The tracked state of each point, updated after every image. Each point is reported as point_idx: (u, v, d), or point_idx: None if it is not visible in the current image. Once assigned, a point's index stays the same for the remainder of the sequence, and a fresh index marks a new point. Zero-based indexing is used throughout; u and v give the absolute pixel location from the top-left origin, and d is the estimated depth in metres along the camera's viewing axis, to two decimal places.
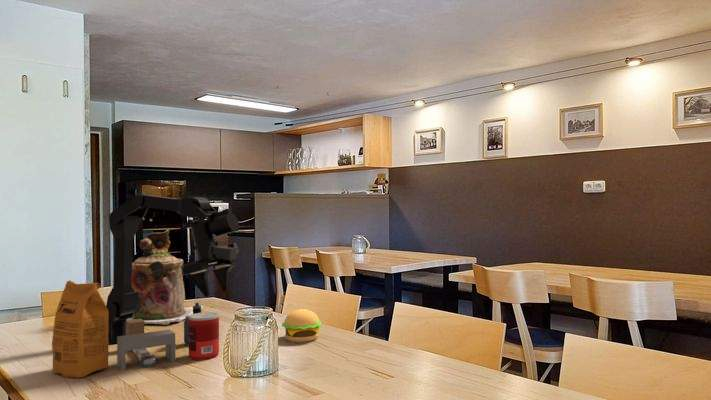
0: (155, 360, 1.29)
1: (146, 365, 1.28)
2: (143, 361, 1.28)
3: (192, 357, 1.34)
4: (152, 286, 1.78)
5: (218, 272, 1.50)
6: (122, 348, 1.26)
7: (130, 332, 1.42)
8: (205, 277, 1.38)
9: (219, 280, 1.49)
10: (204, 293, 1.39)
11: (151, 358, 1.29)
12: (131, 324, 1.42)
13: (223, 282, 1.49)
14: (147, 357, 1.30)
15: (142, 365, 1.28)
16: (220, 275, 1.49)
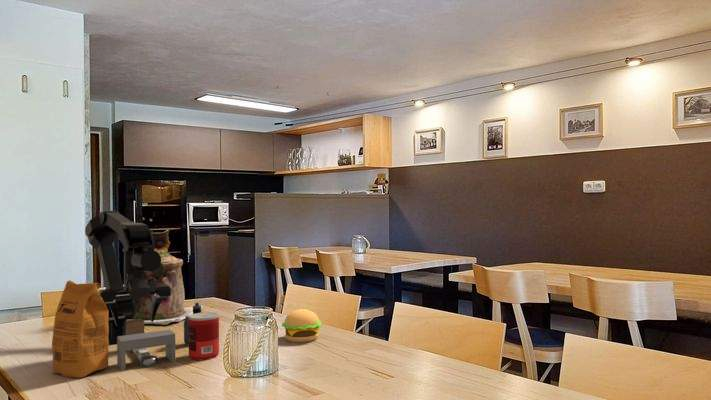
0: (155, 360, 1.29)
1: (146, 365, 1.28)
2: (143, 361, 1.28)
3: (192, 357, 1.34)
4: None
5: (152, 300, 1.48)
6: (122, 348, 1.26)
7: (130, 332, 1.42)
8: (112, 308, 1.40)
9: (151, 308, 1.48)
10: None
11: (151, 358, 1.29)
12: (131, 324, 1.42)
13: (152, 312, 1.47)
14: (147, 357, 1.30)
15: (142, 365, 1.28)
16: (152, 304, 1.48)
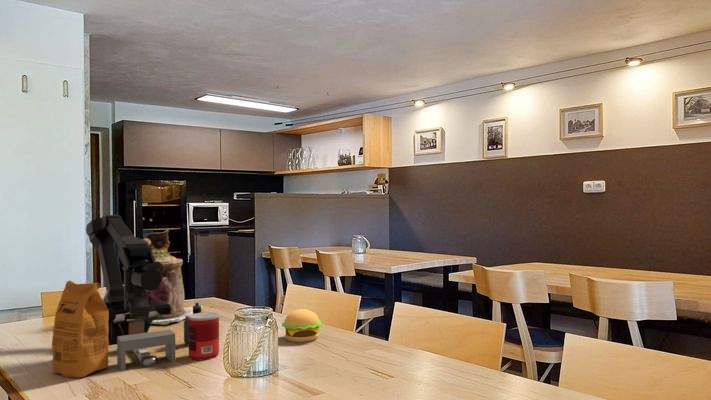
0: (155, 360, 1.29)
1: (146, 365, 1.28)
2: (143, 361, 1.28)
3: (192, 357, 1.34)
4: None
5: (144, 319, 1.47)
6: (122, 348, 1.26)
7: (130, 332, 1.42)
8: (122, 326, 1.41)
9: None
10: None
11: (151, 358, 1.29)
12: (131, 324, 1.42)
13: None
14: (147, 357, 1.30)
15: (142, 365, 1.28)
16: (144, 323, 1.46)
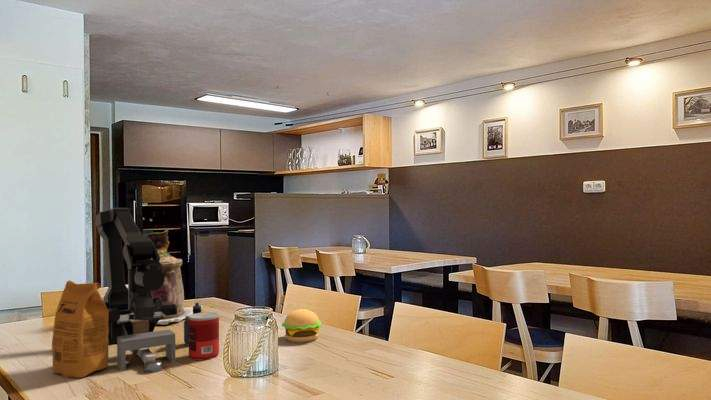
0: (160, 365, 1.25)
1: (151, 370, 1.24)
2: (148, 366, 1.24)
3: (192, 357, 1.34)
4: None
5: (148, 320, 1.42)
6: (122, 348, 1.26)
7: None
8: (126, 327, 1.36)
9: None
10: None
11: (156, 363, 1.25)
12: (135, 325, 1.37)
13: None
14: (152, 362, 1.26)
15: (147, 370, 1.24)
16: None
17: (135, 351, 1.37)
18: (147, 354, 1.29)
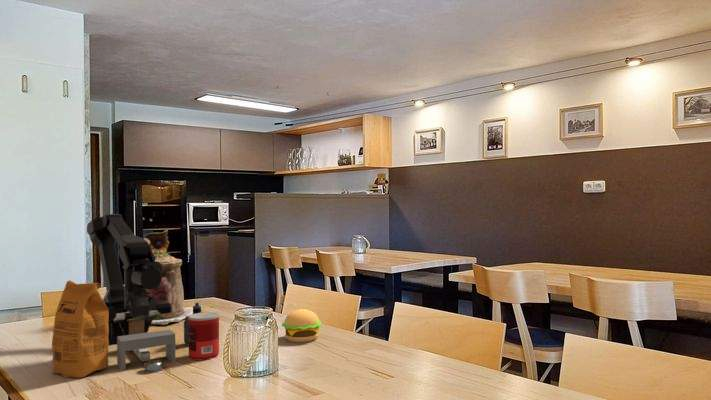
0: (160, 365, 1.25)
1: (151, 370, 1.24)
2: (148, 366, 1.24)
3: (192, 357, 1.34)
4: None
5: (144, 318, 1.47)
6: (122, 348, 1.26)
7: (130, 331, 1.42)
8: (122, 325, 1.41)
9: None
10: None
11: (156, 363, 1.25)
12: (131, 323, 1.42)
13: None
14: (152, 362, 1.26)
15: (147, 370, 1.24)
16: (144, 322, 1.46)
17: None
18: (142, 351, 1.34)
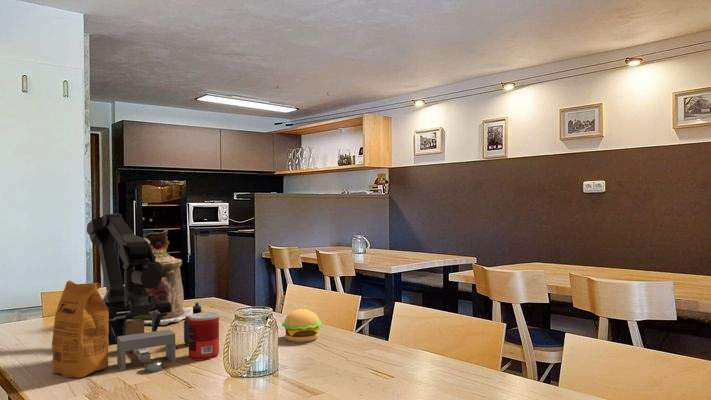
0: (160, 365, 1.25)
1: (151, 370, 1.24)
2: (148, 366, 1.24)
3: (192, 357, 1.34)
4: None
5: (153, 317, 1.48)
6: (122, 348, 1.26)
7: (130, 332, 1.42)
8: (113, 325, 1.39)
9: (152, 324, 1.48)
10: (116, 338, 1.42)
11: (156, 363, 1.25)
12: (131, 324, 1.42)
13: (152, 328, 1.47)
14: (152, 362, 1.26)
15: (147, 370, 1.24)
16: (153, 320, 1.47)
17: None
18: (142, 352, 1.34)
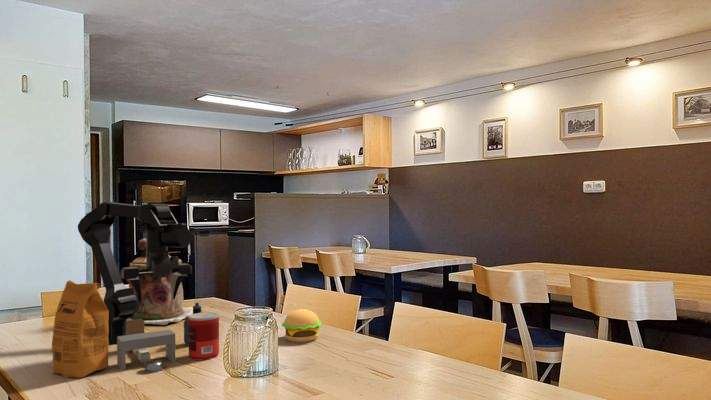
0: (160, 365, 1.25)
1: (151, 370, 1.24)
2: (148, 366, 1.24)
3: (192, 357, 1.34)
4: (151, 286, 1.77)
5: (173, 279, 1.52)
6: (122, 348, 1.26)
7: (130, 332, 1.42)
8: (136, 285, 1.43)
9: (172, 286, 1.51)
10: (138, 298, 1.46)
11: (156, 363, 1.25)
12: (131, 324, 1.42)
13: (173, 290, 1.50)
14: (151, 362, 1.26)
15: (147, 370, 1.24)
16: (173, 282, 1.51)
17: None
18: (142, 352, 1.34)
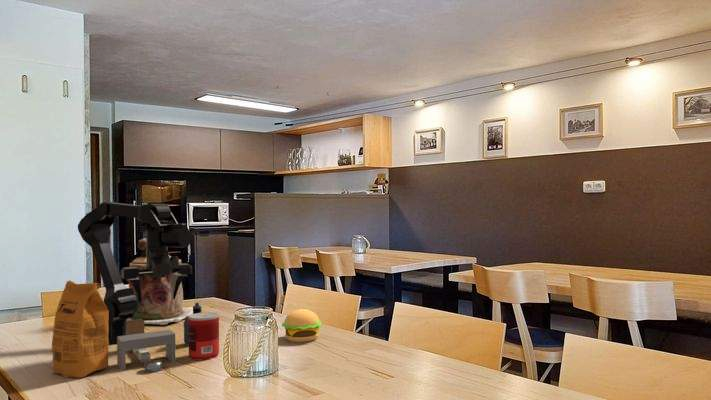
0: (160, 365, 1.25)
1: (151, 370, 1.24)
2: (148, 366, 1.24)
3: (192, 357, 1.34)
4: (150, 286, 1.77)
5: (173, 279, 1.52)
6: (122, 348, 1.26)
7: (130, 332, 1.42)
8: (136, 285, 1.43)
9: (172, 286, 1.52)
10: (138, 298, 1.46)
11: (156, 363, 1.25)
12: (131, 324, 1.42)
13: (173, 290, 1.50)
14: (151, 362, 1.26)
15: (147, 370, 1.24)
16: (174, 282, 1.51)
17: None
18: (142, 352, 1.34)
